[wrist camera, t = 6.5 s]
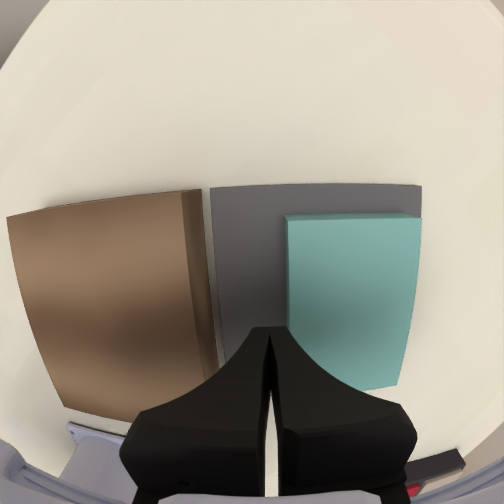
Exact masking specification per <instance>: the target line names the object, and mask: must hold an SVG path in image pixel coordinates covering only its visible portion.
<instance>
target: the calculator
mask: <svg viewBox="0 0 504 504" xmlns="http://www.w3.org/2000/svg"><path fill="white" fill-rule="evenodd" d="M465 465H466V463H465V462H464V460H463V458H462V457H461V455H460V453H459V452H458V450H457V449H452V450H449V451H446V452H443V453H440V454H437V455H433V456H430V457H426V458H423V459H419V460H415V461H411V462H407V463H406V464H405V466H404V469H405V472H406V475H407V480H406V482H404V483H405V486H406V489H407V491H408V494H409V497H413V496H416V495H419V494H422V493H425V492H428V491H431V490H433V489H436V488H439V487H441V486H444V485H446V484H449V483H451V482H453V481H456V480H457V479H458V478H459V477H460V475H461V474H462V473H463V471H462V470H463V468H464V467H465Z"/></svg>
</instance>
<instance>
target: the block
mask: <svg viewBox="0 0 504 504" xmlns="http://www.w3.org/2000/svg"><path fill="white" fill-rule="evenodd" d="M284 217H285V247H286V291H287V328H288V329H289V331H290V333H291V334H292V336H293V337H294V338H295V340H296V341H297V342H298V344H299V345H300V346H301V347H302V348H303V349H304V351H305V352H306V353H307V354H308V355H309V356H310V357H311V358H312V359H313V360H314V361H315V362H316V363H317V364H318V365H319V366H320V367H322V368H323V369H324V370H326V371H327V372H328V373H330V374H331V375H332V376H334V377H335V378H337V379H339V380H340V381H342V382H344V383H346V384H347V385H349V386H351V387H353V388H355V389H357V390H359V391H366V390H372V389H378V388H384V387H389V386H395V385H397V382H398V378H399V374H400V370H401V366H402V362H403V358H404V353H405V349H406V344H407V339H408V334H409V329H410V323H411V318H412V312H413V305H414V299H415V292H416V284H417V275H418V266H419V255H420V242H421V224H422V218H419V217H416V216H412V215H409V214H406V213H332V214H298V215H284Z"/></svg>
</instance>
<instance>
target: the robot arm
mask: <svg viewBox="0 0 504 504" xmlns="http://www.w3.org/2000/svg"><path fill="white" fill-rule="evenodd" d="M270 393H271V394H272V402H273V409H274V416H275V423H276V430H277V440H278V497H265V440H266V429H267V420H268V412H269V403H270ZM66 427H67V429H68V431H69V433H70V434H71V436H72V438H73V439H74V441H75V442H76V444H77V445H78V447H77V448H76V450H75V452H74V453H73V455H72V456H71V458H70V460H69V461H68V463H67V465H66V466H65V468H64V470H63V471H62V473H61V475H60V477H59V478H57V477H55V476H53V475H50V474H48V473H46V472H44V471H42V470H40V469H38V468H36V467H34V466H32V465H30V464H28V463H27V462H25V460H24V458H23V457H22V455H21V454H20V453H19V452H18V451H17V450H16V449H15V448H14V447H13V446H12V445H10V444H9V443H7V442H5V441H4V440H2V439H0V504H504V456H503V457H502V458H500V459H498V460H496V461H495V462H493V463H491V464H489V465H487V466H485V467H483V468H481V469H480V470H477V471H475V472H473V473H471V474H469V475H467V476H465V477H463V478H460V479H458V480H456V481H453V482H451V483H449V484H446V485H444V486H441V487H439V488H436V489H433V490H431V491H428V492H425V493H422V494H419V495H416V496H413V497H409V494H408V491H407V489H406V486H405V483H404V482H406V480H407V475H406V472H405V469H404V466H405V464H406V463H407V461H408V459H409V457H410V455H411V453H412V451H413V450H414V448H415V445H416V442H417V432H416V430H415V428H414V426H413V424H412V422H411V420H410V418H409V417H408V415H407V414H406V412H405V411H404V409H403V408H402V406H401V405H400V404H398V403H394V402H391V401H387V400H384V399H380V398H377V397H374V396H371V395H369V394H366V393H364V392H362V391H359V390H357V389H355V388H353V387H351V386H349V385H347V384H346V383H344V382H342V381H340V380H339V379H337V378H335V377H334V376H332V375H331V374H330V373H328V372H327V371H326V370H324V369H323V368H322V367H320V366H319V365H318V364H317V363H316V362H315V361H314V360H313V359H312V358H311V357H310V356H309V355H308V354H307V353H306V352H305V351H304V349H303V348H302V347H301V346H300V345H299V344H298V342H297V341H296V340H295V338H294V337H293V336H292V334H291V333H290V331H289V329H288V328H287V327H286V326H272V327H253V328H252V329H251V330H250V332H249V334H248V336H247V337H246V339H245V340H244V342H243V343H242V345H241V346H240V347H239V348H238V350H237V351H236V352H235V354H234V355H233V356H232V357H231V358H230V359H229V360H228V361H227V363H226V364H225V365H224V366H223V367H222V368H221V369H220V370H219V371H217V372H216V373H215V374H214V375H213V376H212V377H210V378H209V379H208V380H206V381H205V382H203V383H202V384H200V385H199V386H197V387H196V388H194V389H193V390H191V391H189V392H188V393H186V394H184V395H182V396H180V397H178V398H176V399H174V400H171V401H169V402H167V403H164V404H161V405H159V406H156V407H153V408H150V409H147V410H144V411H140V413H139V414H138V416H137V417H136V419H135V420H134V422H133V423H132V425H131V427H130V429H129V431H128V433H127V435H126V437H121V436H116V435H112V434H108V433H104V432H100V431H96V430H92V429H89V428H85V427H81V426H78V425H75V424H72V423H68V424H67V425H66Z"/></svg>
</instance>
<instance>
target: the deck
mask: <svg viewBox="0 0 504 504" xmlns="http://www.w3.org/2000/svg"><path fill="white" fill-rule="evenodd" d="M6 218H7V226H8V233H9V240H10V246H11V251H12V257H13V262H14V267H15V271H16V276H17V280H18V284H19V288H20V292H21V296H22V300H23V303H24V307H25V310H26V313H27V317H28V320H29V323H30V326H31V329H32V332H33V335H34V338H35V341H36V343H37V346H38V349H39V351H40V354H41V356H42V359H43V361H44V364H45V366H46V369H47V371H48V373H49V376H50V378H51V380H52V382H53V385H54V387H55V389H56V391H57V393H58V395H59V397H60V399H61V401H62V403H63V405H64V407H67V408H70V409H74V410H77V411H81V412H85V413H89V414H93V415H97V416H101V417H105V418H110V419H115V420H120V421H125V422H130V423H133V422H134V420H135V419H136V417H137V416H138V414H139V413H140V411H144V410H147V409H150V408H153V407H156V406H159V405H161V404H164V403H167V402H169V401H171V400H174V399H176V398H178V397H180V396H182V395H184V394H186V393H188V392H189V391H191V390H193V389H194V388H196V387H197V386H199V385H200V384H202V383H203V382H205V381H206V380H208V379H209V378H210V377H212V376H213V375H214V374H215V373H216V372H217V371H219V365H218V357H217V350H216V342H215V333H214V325H213V316H212V308H211V298H210V289H209V279H208V269H207V258H206V246H205V235H204V222H203V208H202V194H201V189H193V190H182V191H171V192H160V193H151V194H141V195H133V196H124V197H116V198H109V199H101V200H94V201H87V202H80V203H74V204H68V205H62V206H56V207H50V208H44V209H40V210H35V211H31V212H26V213H22V214H18V215H14V216H10V217H6Z"/></svg>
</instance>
